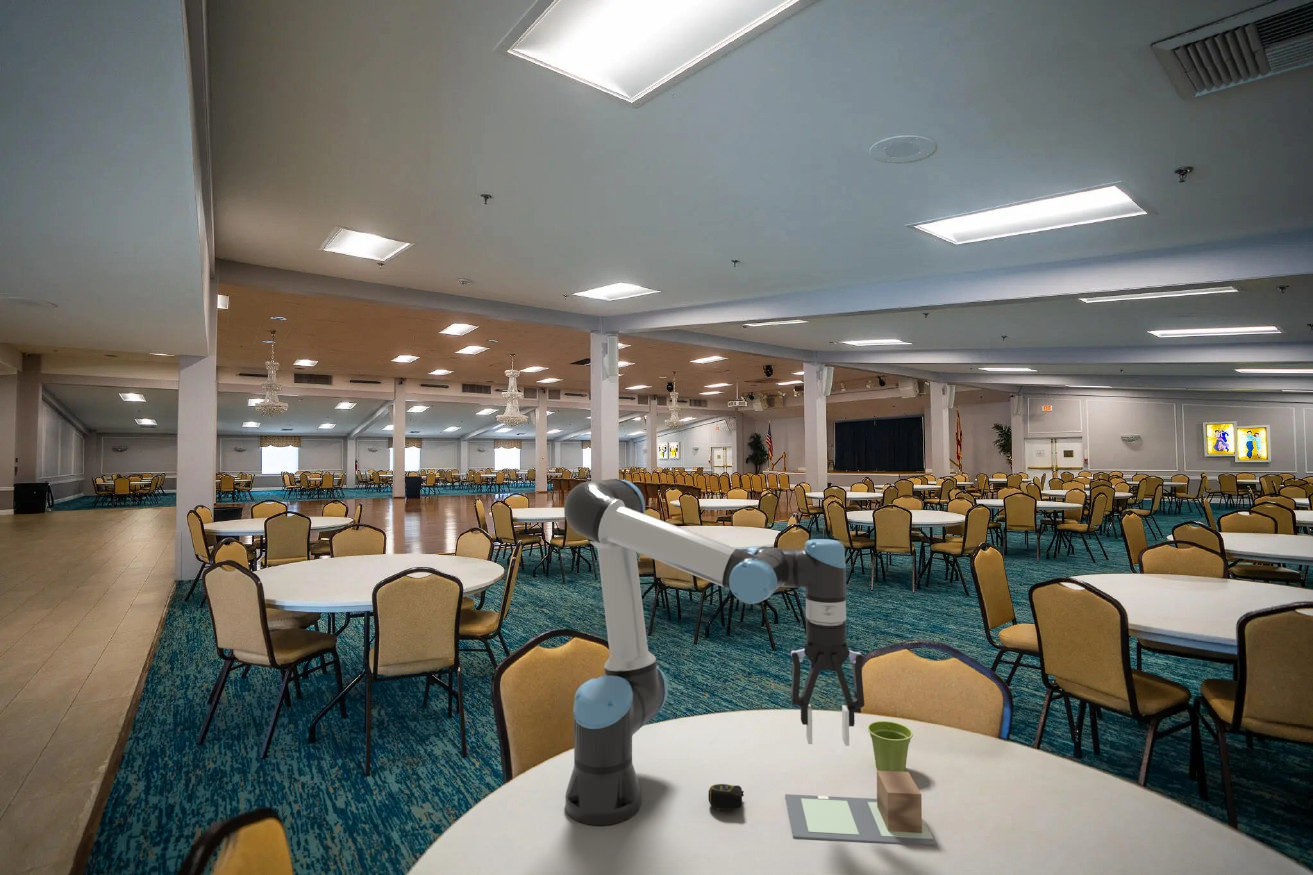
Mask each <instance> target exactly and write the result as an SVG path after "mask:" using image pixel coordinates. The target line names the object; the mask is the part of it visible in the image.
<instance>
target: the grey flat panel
mask: <svg viewBox="0 0 1313 875" xmlns="http://www.w3.org/2000/svg"><path fill="white" fill-rule="evenodd" d="M784 796H785V797H784V798H785V799H784V800H785V802H786V803H785V804H786V809H787V813H788V819H789V820H788V821H789V825H790V829H791V834H792V839H797V840H798V839H799V840H817V841H818V840H819V841H835V842H837V841H838V842H839V841H840V842H856V843H857V842H858V843H875V844H876V843H877V844H891V845H892V844H894V845H895V844H896V845H910V846H911V845H913V846H927V847H928V846H929V845H933V846H932V847H935V846H934V845H936V846H937V843H936V841H935V840H934V838H933V836H932V834H931V832H930V829H929V828H928V826H927V824H926V823H925V821H924V819H923V818H922V833H911V832H894V831H888V830H887V828H886V825H885V823H884V821H883V819H882V816H881V814H880V812H879V810H878V807H877V798H869V797H867V798H865V797H848V796H846V797H845V796H832V795H831V796H829V795H828V796H827V795H810V794H809V795H808V794H792V793H791V794H789V793H784Z"/></svg>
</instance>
